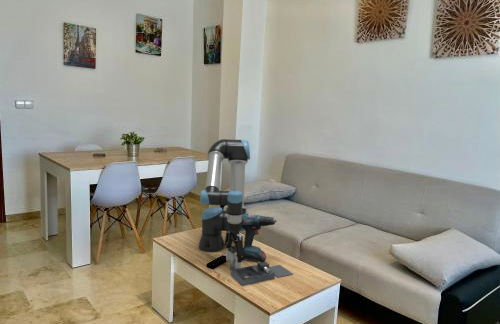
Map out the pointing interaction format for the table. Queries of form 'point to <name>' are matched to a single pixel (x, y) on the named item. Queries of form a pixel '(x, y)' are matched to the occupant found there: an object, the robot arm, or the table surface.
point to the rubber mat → (280, 271)
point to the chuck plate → (253, 274)
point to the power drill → (251, 227)
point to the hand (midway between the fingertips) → (233, 264)
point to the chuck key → (232, 257)
